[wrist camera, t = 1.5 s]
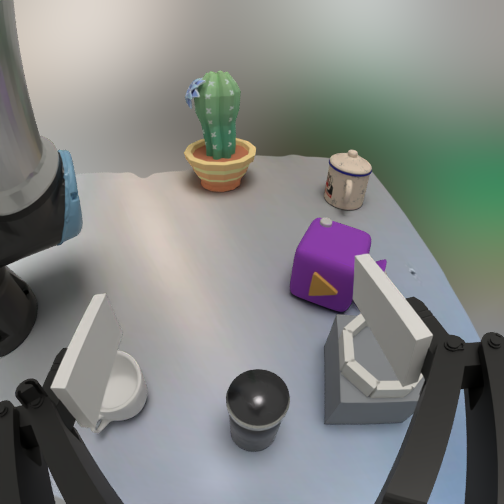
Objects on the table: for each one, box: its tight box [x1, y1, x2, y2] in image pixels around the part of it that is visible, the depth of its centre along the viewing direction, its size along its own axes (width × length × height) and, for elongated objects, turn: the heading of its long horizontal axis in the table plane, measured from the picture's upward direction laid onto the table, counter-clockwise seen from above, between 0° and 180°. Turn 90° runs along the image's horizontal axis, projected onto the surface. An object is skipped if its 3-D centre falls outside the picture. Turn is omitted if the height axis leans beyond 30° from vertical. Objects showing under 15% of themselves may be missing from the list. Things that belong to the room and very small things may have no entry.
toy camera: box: [290, 218, 387, 312], centre depth 45 cm, size 11×14×10 cm
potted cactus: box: [184, 71, 256, 192], centre depth 63 cm, size 15×15×25 cm
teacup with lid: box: [324, 150, 372, 210], centre depth 63 cm, size 12×9×12 cm
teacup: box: [91, 350, 147, 434], centre depth 31 cm, size 10×8×5 cm
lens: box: [226, 369, 290, 452], centre depth 28 cm, size 5×5×11 cm
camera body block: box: [324, 314, 425, 424], centre depth 33 cm, size 10×11×9 cm
